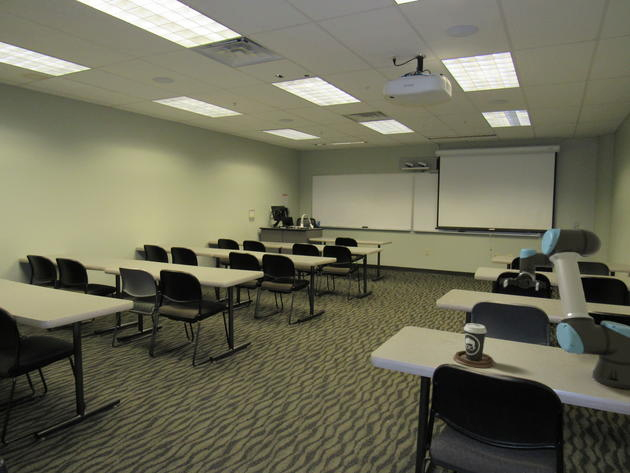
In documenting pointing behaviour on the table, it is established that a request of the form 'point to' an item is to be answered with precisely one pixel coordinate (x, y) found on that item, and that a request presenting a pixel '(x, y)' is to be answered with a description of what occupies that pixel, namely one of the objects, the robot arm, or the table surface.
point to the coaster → (484, 363)
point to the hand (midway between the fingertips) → (520, 285)
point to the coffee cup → (474, 341)
